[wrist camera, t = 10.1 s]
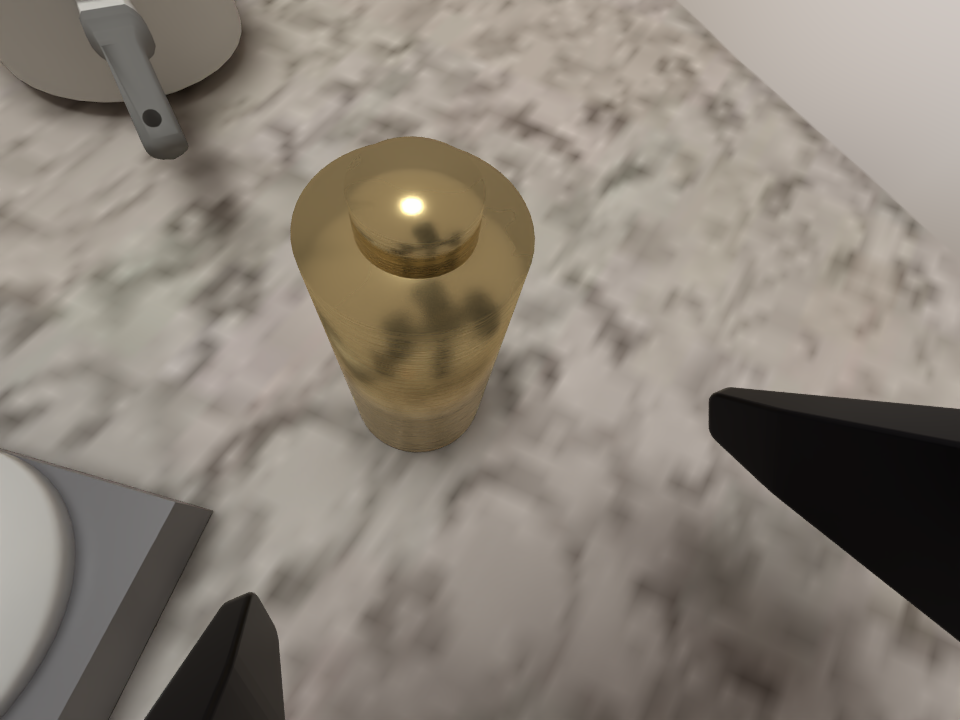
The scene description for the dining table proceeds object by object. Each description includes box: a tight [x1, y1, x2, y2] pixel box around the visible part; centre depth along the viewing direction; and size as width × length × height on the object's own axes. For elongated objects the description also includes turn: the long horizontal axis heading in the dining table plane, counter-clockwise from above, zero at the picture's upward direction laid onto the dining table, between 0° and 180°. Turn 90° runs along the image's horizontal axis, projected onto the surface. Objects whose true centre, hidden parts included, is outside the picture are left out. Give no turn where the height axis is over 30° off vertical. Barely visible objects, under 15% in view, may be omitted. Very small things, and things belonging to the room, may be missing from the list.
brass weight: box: [291, 137, 535, 452], centre depth 12 cm, size 5×5×10 cm
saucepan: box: [0, 0, 242, 160], centre depth 19 cm, size 12×20×6 cm, turn 31°
